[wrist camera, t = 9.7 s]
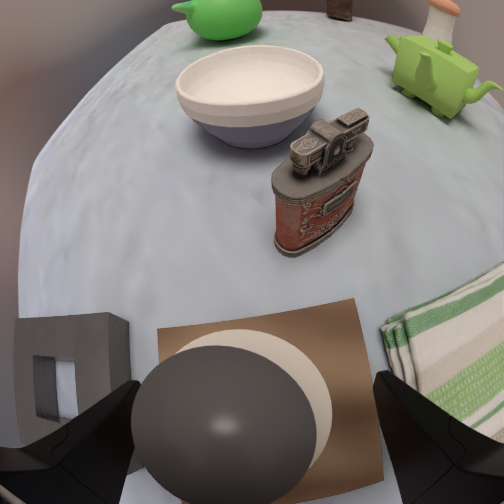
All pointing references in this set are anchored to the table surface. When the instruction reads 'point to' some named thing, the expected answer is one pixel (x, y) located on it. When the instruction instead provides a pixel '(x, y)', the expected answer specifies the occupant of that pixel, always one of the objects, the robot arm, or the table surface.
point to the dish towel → (456, 351)
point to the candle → (340, 9)
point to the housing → (74, 350)
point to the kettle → (436, 74)
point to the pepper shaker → (441, 20)
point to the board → (337, 381)
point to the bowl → (251, 93)
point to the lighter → (319, 182)
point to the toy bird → (221, 17)
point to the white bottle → (232, 419)
